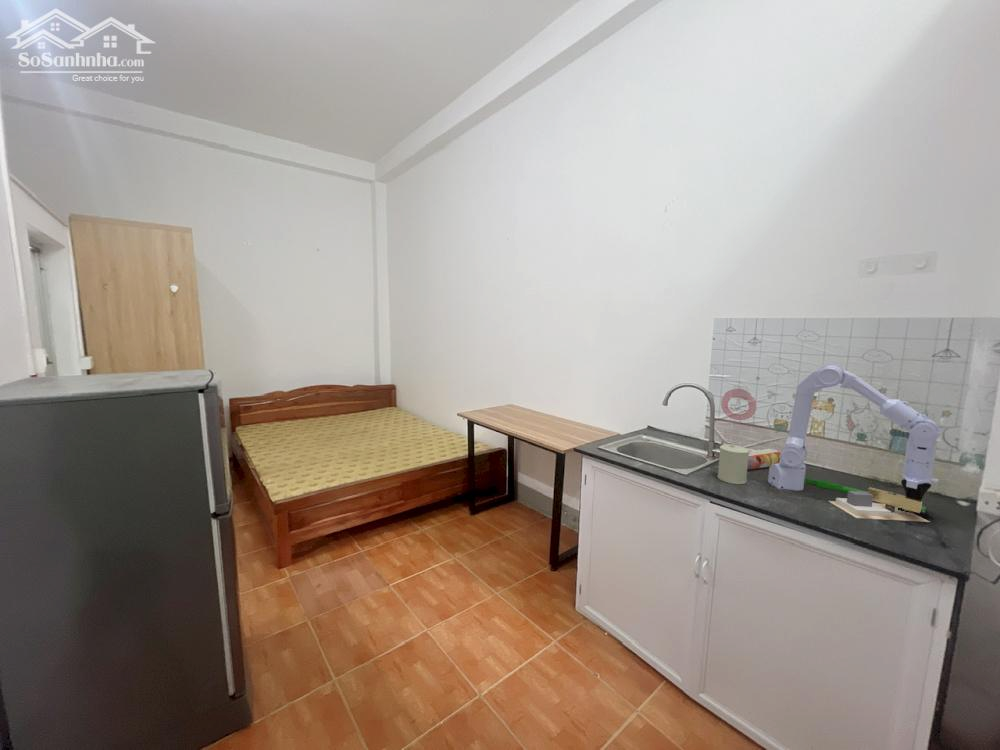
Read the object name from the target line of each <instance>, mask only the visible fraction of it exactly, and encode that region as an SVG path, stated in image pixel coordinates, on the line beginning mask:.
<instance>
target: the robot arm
mask: <svg viewBox="0 0 1000 750" xmlns="http://www.w3.org/2000/svg"><path fill="white" fill-rule="evenodd" d="M840 384H841V385H840ZM838 385H839V387H840V388H843V389H850V390H852V391H855V392H857V393H858V394H859V395H861V396H863V398H866V399H867V400H868V401H870V402H872V403H873V404H874V405H876V406H878V408H879V413H880V415H883V417H884V418H887V419H888V420H890V421H891V422H892V423H894V424H895V425H897V426H898V427H900V428H902V429H904V430H906V431H907V430H908V434H909V435H908V441H907V443H906V446H905V447H906V448H905V455H904V463H903V469H902V472H901V476H902V477H903V479H902V480H900V483H901V485H902V487H903V488H904V493H905V496H908V497H912V498H916V499H920V500H922V501H923V498H924V495H926V493H927V491H928V490H929V489H931V488H932V484H931V483H934V484H937V483H938V482H939V479H938V478H934V477H933V474H934V466H935V460H936V453H937V447H936V445H937V442H938V441H937V440H938V439H939V438H940V437H941V433H940V428H939V426H938V425H937V423H936V422H934V420H933V419H931V418H929V417H928V416H927V415H926V414H925V413H922V414H921V413H920V412H918V411H917V410H915V409H914V408H913V407H911V406H910V403H909V402H907V401H906V400H903V401H902V400H900V399H897V398H889V397H887V396H885V395H884V394H883V393H882V392H880V391H878V390H877V389H876V388H874V387H873V386H871V385H870V384H869V383H868V382H866V381H865V380H863V379H862V378H861V377H859V376H858V375H856V374H854V373H852V372H850V371H848V370H846V369H845V370H844V369H843V368H842V367H841V366H839V365H836V364H827V365H825V366H823V367H822V366H821V367H819V368H818V369H816V370H814V371H812V373H810V374H809V375H808V376H807V377H806V378H803V380H802V381H800V382H799V383H798V385H797V388H796V392H795V397H794V404H793V409H792V414H791V419H790V424H789V425H790V426H789V431H788V436H787V439H786V442H785V445H784V448H783V450H781V451H780V461H779V463H778V464H772V465H771V466H770V467H768V468H769V470H768V479H767V483H768V484H770V485H771V486H773V487H774V488H776V489H778V490H789V491H790V490H791V491H803V490H804V487H805V486H804V485H805V482H804V479H805V478H806V469H807V466H806V464H805V463H804V460H805V459H806V458H807V456H808V451H807V449H806V439H807V434H808V433H807V432H808V428H809V423H810V420H811V419H810V417H811V412H812V407H813V403H814V399H815V393H817V392H819V391H821V390H823V389H827V388H830V387H836V386H838Z"/></svg>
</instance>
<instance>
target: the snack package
mask: <svg viewBox="0 0 1000 750" xmlns="http://www.w3.org/2000/svg"><path fill="white" fill-rule="evenodd" d="M780 453H781V451H779V450H776V449H774V448H766V449H758V450H751V451H750V450H749V456H748V466H747V471H748V470H749V471H750V470H757V469H758V470H759V469H763V468H764V469H765V468H770V466H771V465H772V464H778V463H779V461H780Z"/></svg>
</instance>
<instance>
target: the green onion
mask: <svg viewBox="0 0 1000 750" xmlns="http://www.w3.org/2000/svg"><path fill="white" fill-rule="evenodd" d="M804 483H808V484H810V485H814V486H816V487H817V488H822V489H828V490H832V491H838V492H840V493H841V492H842V493H846V494H848V491H860V492H868V490H867V491H866V490H864V489H863V490H862V489H860V488H859V489H858V488H854V487H851V486H850V487H849V486H846V485H841V484H838V483H835V482H831V481H827V480H825V479H819V480H815V479H812V478H807V477H805V479H804ZM926 508H927V507H926V506H924V505H922V506H921V511H922V510H923V511H926V510H927V509H926Z"/></svg>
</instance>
